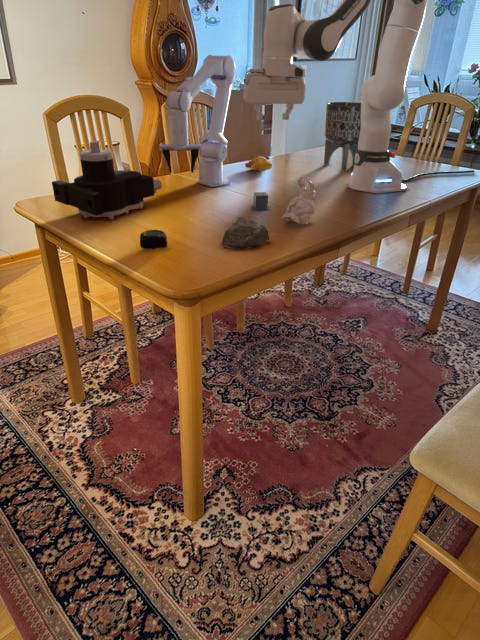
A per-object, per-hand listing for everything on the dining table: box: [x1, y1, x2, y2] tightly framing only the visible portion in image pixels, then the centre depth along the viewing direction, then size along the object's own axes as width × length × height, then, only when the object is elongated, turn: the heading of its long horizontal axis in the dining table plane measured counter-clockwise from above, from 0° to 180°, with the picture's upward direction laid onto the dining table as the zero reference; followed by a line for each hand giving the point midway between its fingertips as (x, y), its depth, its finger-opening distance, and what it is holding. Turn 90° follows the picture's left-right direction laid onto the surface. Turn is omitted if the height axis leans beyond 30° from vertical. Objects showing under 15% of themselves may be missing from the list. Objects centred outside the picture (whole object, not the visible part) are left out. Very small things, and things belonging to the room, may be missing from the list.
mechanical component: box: [51, 141, 163, 220], centre depth 140 cm, size 22×21×30 cm
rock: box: [221, 216, 270, 250], centre depth 119 cm, size 13×9×6 cm, turn 131°
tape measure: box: [139, 229, 168, 250], centre depth 117 cm, size 7×7×4 cm
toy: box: [244, 155, 273, 172], centre depth 200 cm, size 11×6×15 cm
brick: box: [252, 191, 269, 211], centre depth 150 cm, size 4×4×5 cm
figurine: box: [281, 177, 316, 225], centre depth 135 cm, size 8×15×13 cm, turn 145°
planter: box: [323, 101, 361, 172], centre depth 204 cm, size 20×20×26 cm
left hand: (181, 172), depth 161 cm, fingers open, 7 cm apart
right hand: (272, 119), depth 142 cm, fingers open, 8 cm apart
